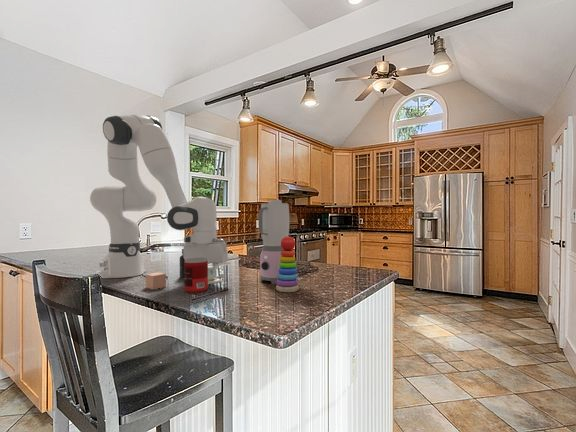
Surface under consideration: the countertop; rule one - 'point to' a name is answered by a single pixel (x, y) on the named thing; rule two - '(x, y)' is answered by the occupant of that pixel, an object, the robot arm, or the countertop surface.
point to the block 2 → (210, 276)
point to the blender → (272, 237)
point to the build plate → (214, 281)
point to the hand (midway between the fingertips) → (205, 273)
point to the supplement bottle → (182, 266)
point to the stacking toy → (287, 267)
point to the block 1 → (155, 280)
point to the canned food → (196, 275)
